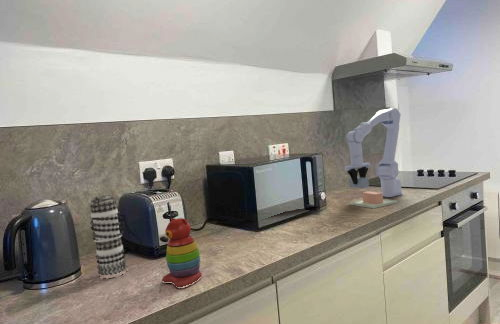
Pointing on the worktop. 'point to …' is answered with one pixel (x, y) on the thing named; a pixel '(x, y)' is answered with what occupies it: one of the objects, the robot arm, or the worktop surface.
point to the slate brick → (360, 182)
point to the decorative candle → (107, 235)
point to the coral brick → (372, 197)
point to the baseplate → (371, 205)
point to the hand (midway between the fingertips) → (359, 183)
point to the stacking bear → (181, 254)
